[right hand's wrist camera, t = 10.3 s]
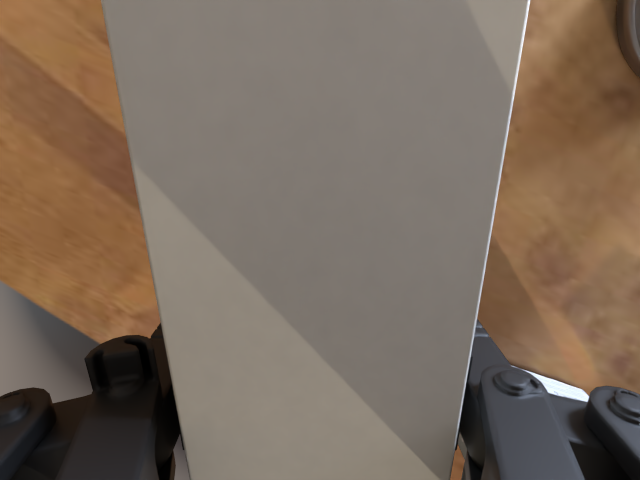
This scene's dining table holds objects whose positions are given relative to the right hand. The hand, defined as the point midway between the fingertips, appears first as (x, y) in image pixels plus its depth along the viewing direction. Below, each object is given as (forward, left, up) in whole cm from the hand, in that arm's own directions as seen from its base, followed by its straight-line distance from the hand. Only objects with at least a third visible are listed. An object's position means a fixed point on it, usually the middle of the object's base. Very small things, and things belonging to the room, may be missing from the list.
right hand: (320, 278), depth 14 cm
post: (-12, -21, -1) cm, 25 cm away
